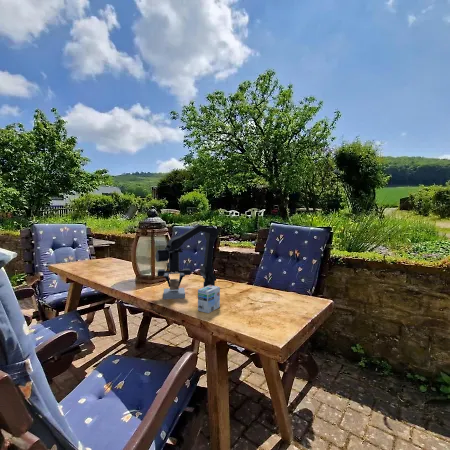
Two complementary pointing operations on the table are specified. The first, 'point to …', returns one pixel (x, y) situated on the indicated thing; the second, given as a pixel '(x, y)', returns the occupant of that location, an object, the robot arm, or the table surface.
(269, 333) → the table surface
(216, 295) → the light bulb box
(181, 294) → the slate block
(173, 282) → the walnut cube
